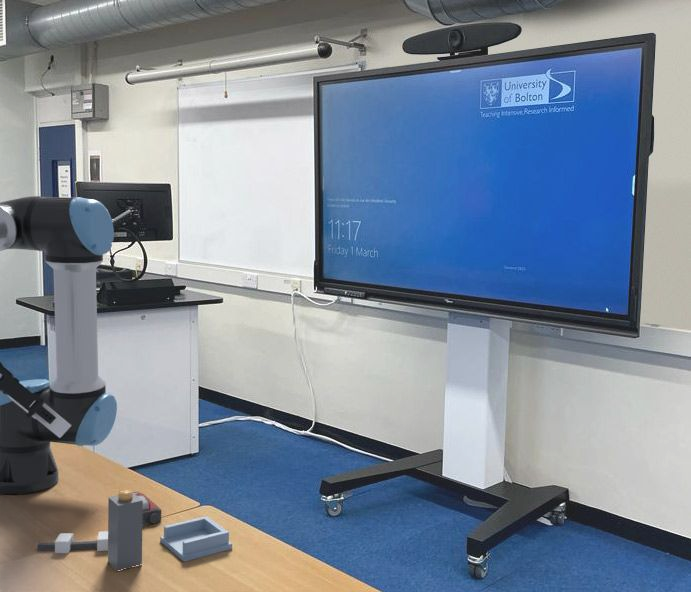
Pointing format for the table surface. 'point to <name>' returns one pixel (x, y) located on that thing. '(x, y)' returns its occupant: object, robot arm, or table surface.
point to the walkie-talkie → (149, 510)
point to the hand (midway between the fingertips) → (52, 421)
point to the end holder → (195, 538)
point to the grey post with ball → (125, 530)
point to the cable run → (75, 543)
